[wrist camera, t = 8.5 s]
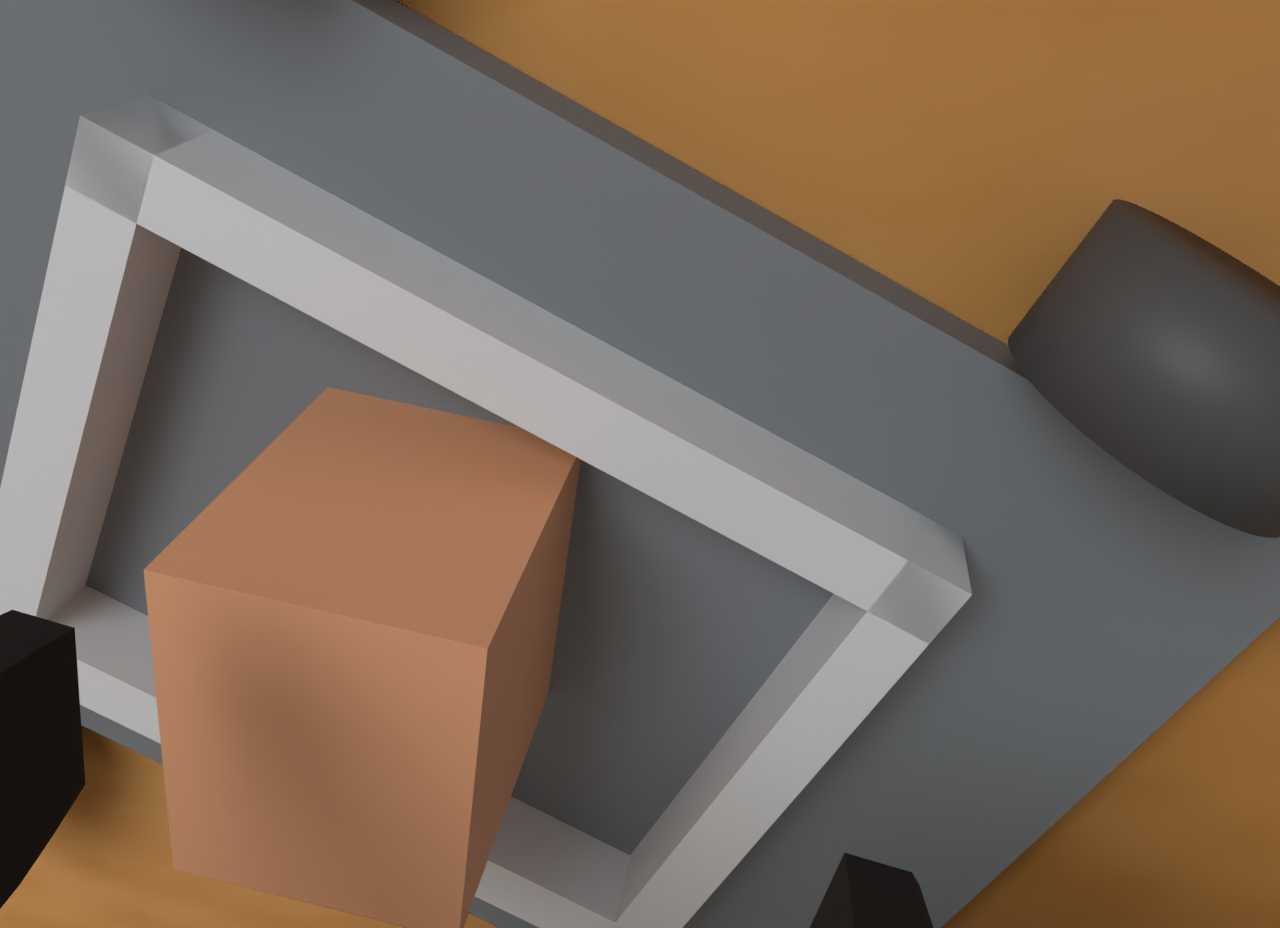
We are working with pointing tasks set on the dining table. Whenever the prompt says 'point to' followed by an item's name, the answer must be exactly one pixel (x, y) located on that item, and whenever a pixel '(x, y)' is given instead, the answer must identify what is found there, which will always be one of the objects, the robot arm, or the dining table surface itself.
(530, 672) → the orange block
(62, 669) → the robot arm
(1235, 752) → the dining table surface
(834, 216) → the dining table surface
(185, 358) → the chassis
